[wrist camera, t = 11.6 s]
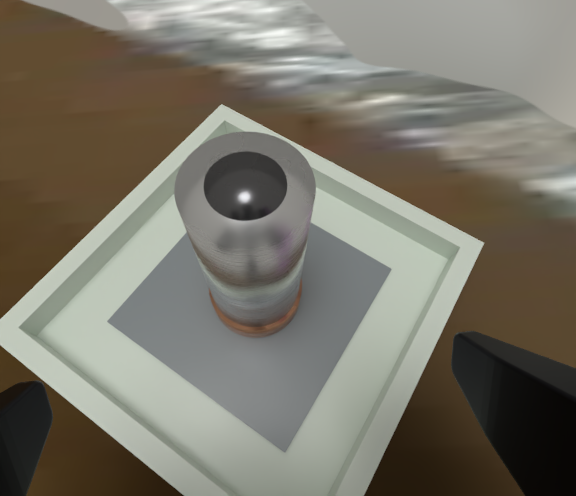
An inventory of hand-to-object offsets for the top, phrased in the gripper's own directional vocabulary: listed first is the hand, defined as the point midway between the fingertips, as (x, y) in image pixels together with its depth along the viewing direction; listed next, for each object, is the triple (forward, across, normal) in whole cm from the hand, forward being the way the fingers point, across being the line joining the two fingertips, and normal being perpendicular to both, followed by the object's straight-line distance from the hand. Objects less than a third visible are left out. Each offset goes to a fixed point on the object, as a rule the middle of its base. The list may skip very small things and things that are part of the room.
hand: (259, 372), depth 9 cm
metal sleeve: (+12, 0, +4) cm, 13 cm away
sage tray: (+13, 0, +4) cm, 14 cm away
